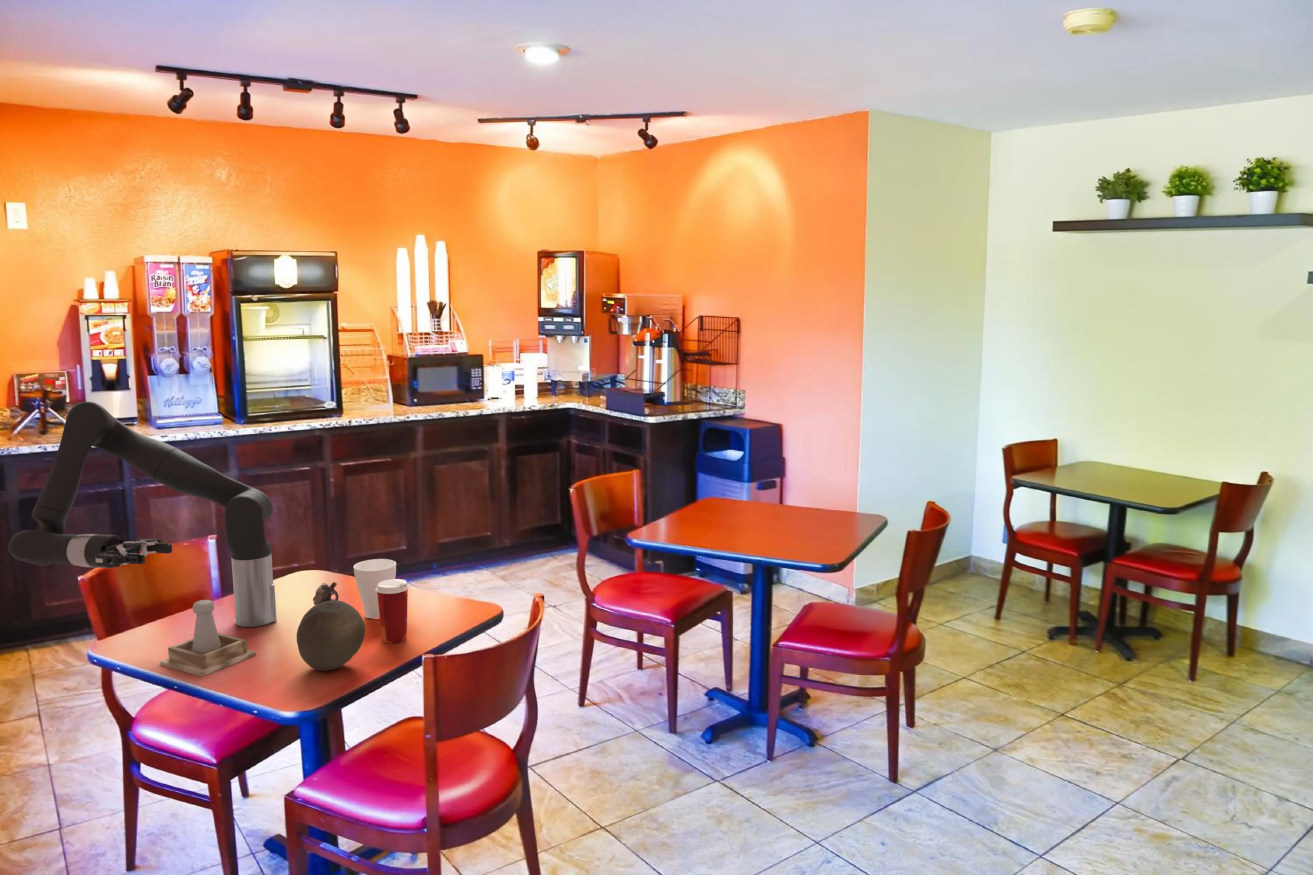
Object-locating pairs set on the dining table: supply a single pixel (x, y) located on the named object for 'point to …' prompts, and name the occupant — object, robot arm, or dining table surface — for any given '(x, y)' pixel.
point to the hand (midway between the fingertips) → (157, 553)
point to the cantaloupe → (330, 635)
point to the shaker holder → (207, 656)
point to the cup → (372, 582)
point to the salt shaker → (205, 628)
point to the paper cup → (393, 609)
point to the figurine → (325, 593)
